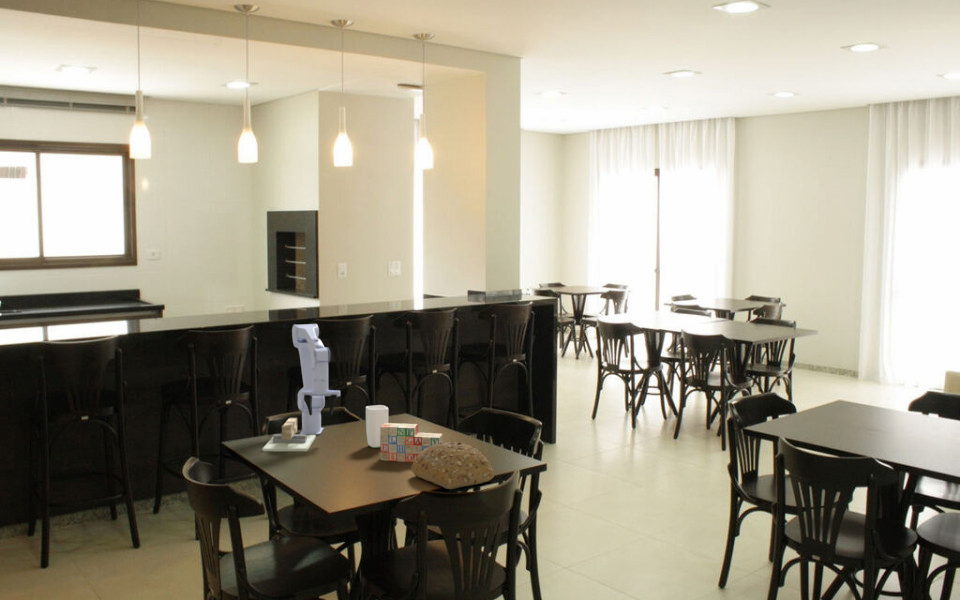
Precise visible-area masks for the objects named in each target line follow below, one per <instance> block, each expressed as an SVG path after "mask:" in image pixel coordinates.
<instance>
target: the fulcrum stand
mask: <svg viewBox="0 0 960 600" xmlns="http://www.w3.org/2000/svg"><path fill="white" fill-rule="evenodd" d="M316 435H317V434H300V433H299V434H296V433H295V434H294V436H293V437H292V438H291V440H282V433H281V434H277V433H276V434H275V433H274V434H273V436H272V437H271V438H270V439H269V441H268V442H267V443H266V444H265V445H264V446H263V447H262V452H308V450H309V449H310V447H311V445H312V444H313V442H314V440H316Z"/></svg>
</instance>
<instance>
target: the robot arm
mask: <svg viewBox="0 0 960 600" xmlns="http://www.w3.org/2000/svg"><path fill="white" fill-rule="evenodd" d="M291 333H292V334H291V336H292V343H293V347H295V348H297V349H298V354H299V359H300V367H301V375H302V384H303V387H302V388H301V389H300V390H299V391H298V393H297V407H298V410H299V411H301V423H302V424H301V425H302V426H301V431H300V432H299V434H306V435H321V433H322V432H323V430H324V427H322V414H321V412H322V410H324V407H325V404H326V400H325V399H326V398H325V397H329V416H332V415H333V412H334V408H335V404H336V402H337V400H338V397H341V390H333V389H329V363H330V362H331V350H330V348H329V346H328V347H325V346H324V343H323V342H322V339H320V338H319V336H320V335H319V334H320V328H319V326H318V324H317V323H308V324H305V323H304V324H293V325H292V328H291Z"/></svg>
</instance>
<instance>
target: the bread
mask: <svg viewBox="0 0 960 600" xmlns="http://www.w3.org/2000/svg"><path fill="white" fill-rule="evenodd" d="M410 469H411V471H412V473H413V474H414V476H415V477H417V478H419V479H422V480H424V481H426V482H429V483H433V484H435V485H437V486H439V487H442V488H444V489H447V490H453V489H457V488H458V489H459V488H463V487H470V486H475V485H481V484H483V483H486V482H490V481H491V480H492V479H493V478H494V477H495V471H494V470H493V467H492V464H491V463H490V461H489V460H488V459H487V457H486V456H485V455H484V454H482V452H481V451H479V449H477V448H474V447H472V445H469V444H467V443H462V442H457V441H454V440H452V441H447V442H445V441H443V442H442V443H440V444H435V445H432V446H430V447H427V448H426V449H425V450H424V451H421V453H420V454H419V455H417V457H416V458H415V459H414V460H413V462H412V465H411V467H410Z"/></svg>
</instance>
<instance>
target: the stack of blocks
mask: <svg viewBox="0 0 960 600" xmlns="http://www.w3.org/2000/svg"><path fill="white" fill-rule="evenodd" d="M443 438H444V437H443V433H436V432H435V433H434V432H419V424H418V423H395V422H393V423H392V422H388V423H384V424H383V425H382V426H381V427H380V447H379V448H380V461H389V462H391V461H392V462H403V463H405V462H407V463H413V460H414V459H415V458H416V457H417V455H419V454H420V453H421V451H424V450H425V449H426V448H427V447H430V446H432V445H435V444H440V443H443V442H444V440H443Z"/></svg>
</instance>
